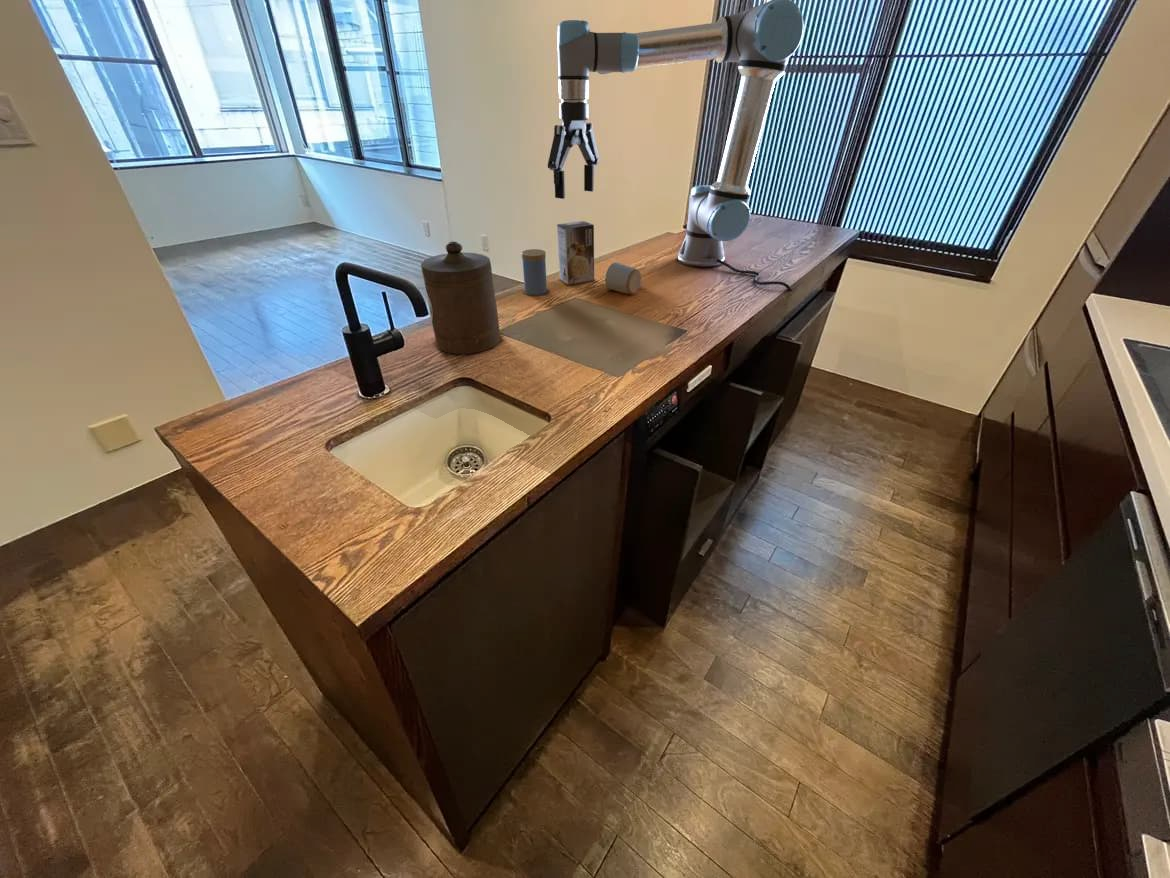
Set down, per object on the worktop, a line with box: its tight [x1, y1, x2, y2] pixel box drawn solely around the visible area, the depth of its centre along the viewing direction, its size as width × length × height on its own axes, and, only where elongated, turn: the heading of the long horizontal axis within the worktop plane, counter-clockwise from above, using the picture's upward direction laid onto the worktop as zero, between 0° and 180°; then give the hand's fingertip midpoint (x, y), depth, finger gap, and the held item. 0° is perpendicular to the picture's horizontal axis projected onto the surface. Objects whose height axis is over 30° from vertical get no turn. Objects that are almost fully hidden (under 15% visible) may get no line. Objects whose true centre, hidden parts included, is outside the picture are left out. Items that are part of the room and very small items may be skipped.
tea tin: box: [520, 248, 548, 296], centre depth 137 cm, size 7×7×11 cm
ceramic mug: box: [604, 261, 643, 295], centre depth 138 cm, size 11×8×8 cm
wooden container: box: [420, 241, 501, 355], centre depth 106 cm, size 15×15×22 cm
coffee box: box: [556, 220, 595, 286], centre depth 143 cm, size 9×6×16 cm
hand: (574, 194), depth 134 cm, fingers open, 13 cm apart
